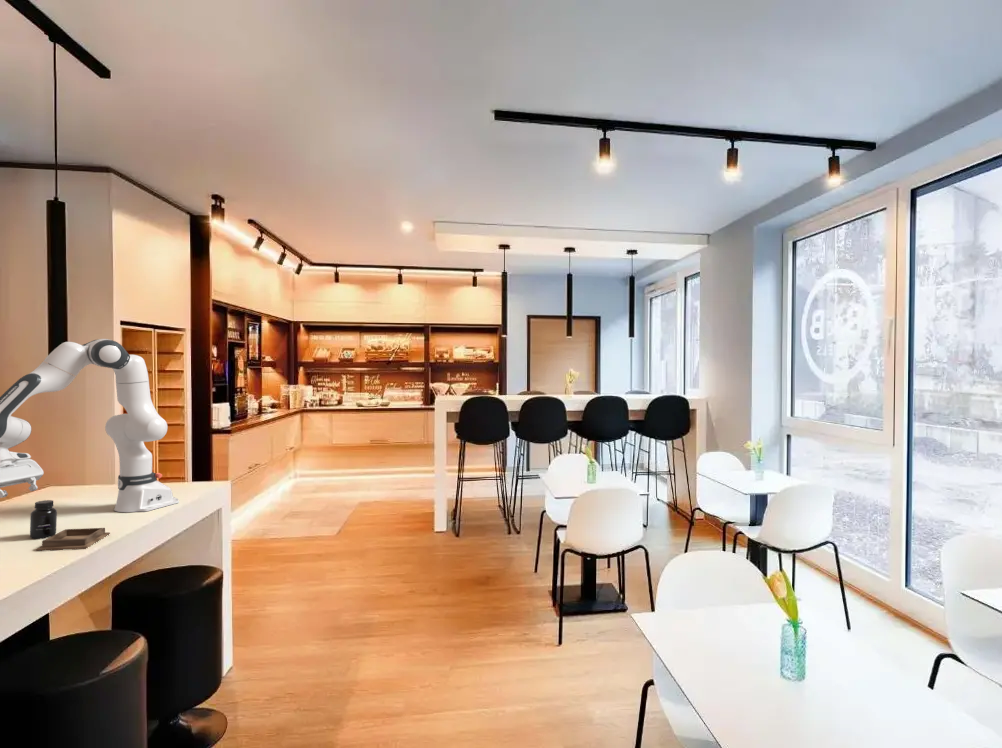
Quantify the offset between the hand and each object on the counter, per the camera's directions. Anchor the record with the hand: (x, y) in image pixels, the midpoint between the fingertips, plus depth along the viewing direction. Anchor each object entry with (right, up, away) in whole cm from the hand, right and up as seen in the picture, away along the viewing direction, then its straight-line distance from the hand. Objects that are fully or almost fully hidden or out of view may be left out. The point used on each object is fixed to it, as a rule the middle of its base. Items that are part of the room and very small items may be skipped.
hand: (20, 492), depth 178 cm
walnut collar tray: (+25, -15, -7) cm, 30 cm away
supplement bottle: (+10, -15, -2) cm, 18 cm away
